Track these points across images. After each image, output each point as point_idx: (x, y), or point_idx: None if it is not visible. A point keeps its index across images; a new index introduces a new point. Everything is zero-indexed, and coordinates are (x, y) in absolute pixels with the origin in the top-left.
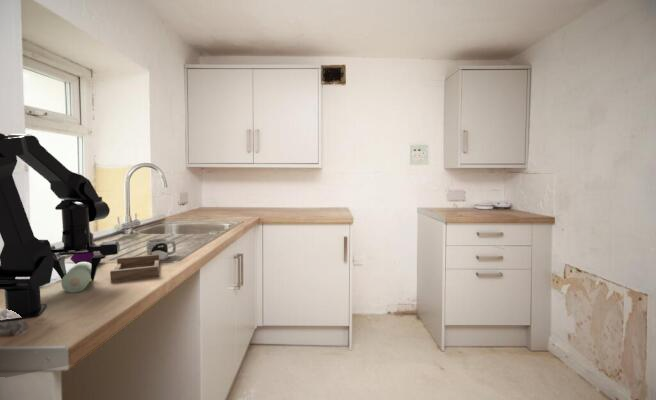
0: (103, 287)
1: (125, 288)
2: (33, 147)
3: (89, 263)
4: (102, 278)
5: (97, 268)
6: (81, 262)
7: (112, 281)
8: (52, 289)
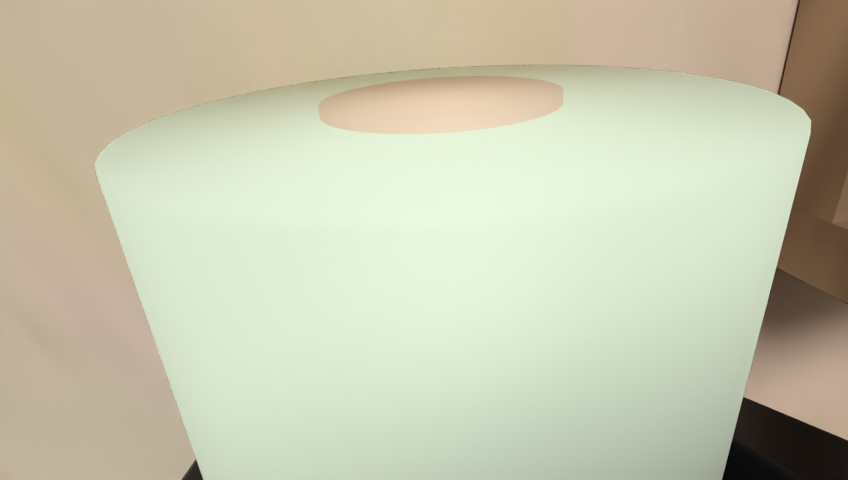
0: None
1: None
2: None
3: (787, 213)
4: (660, 6)
5: (825, 441)
6: (576, 344)
7: None
8: (37, 426)
